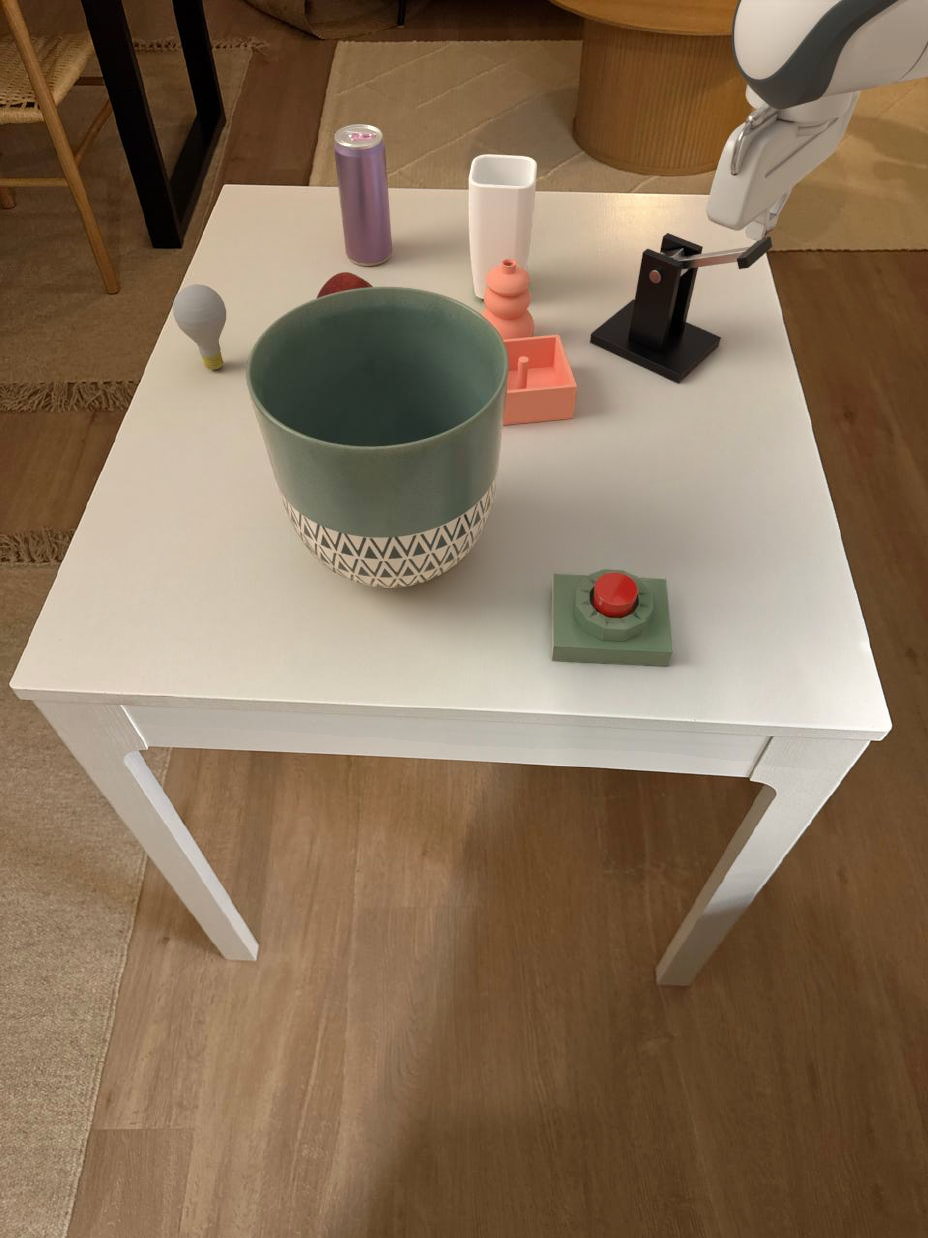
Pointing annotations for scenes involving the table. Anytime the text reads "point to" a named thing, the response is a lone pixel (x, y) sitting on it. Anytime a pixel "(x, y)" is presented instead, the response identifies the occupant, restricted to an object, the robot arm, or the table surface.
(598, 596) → the button
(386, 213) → the beverage can
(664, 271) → the bracket
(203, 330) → the light bulb
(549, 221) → the table surface
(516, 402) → the pottery
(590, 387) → the table surface
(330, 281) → the apple
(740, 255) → the lever
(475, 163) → the cup
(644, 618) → the control block
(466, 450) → the planter
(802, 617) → the table surface
